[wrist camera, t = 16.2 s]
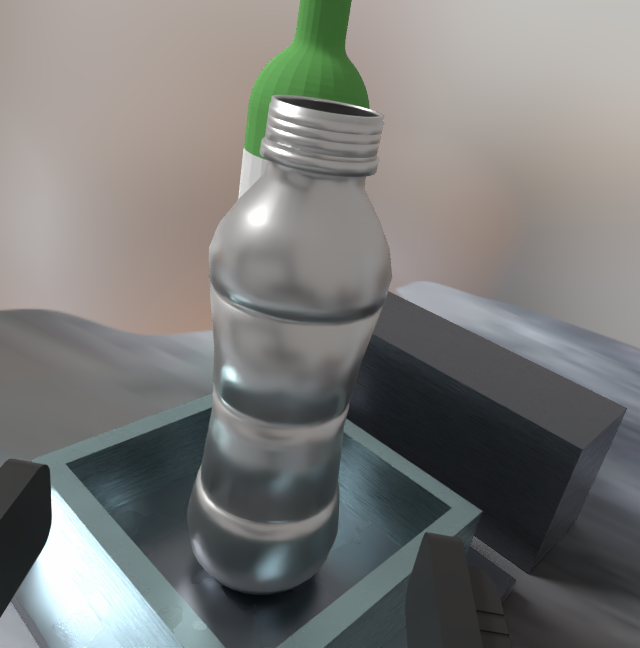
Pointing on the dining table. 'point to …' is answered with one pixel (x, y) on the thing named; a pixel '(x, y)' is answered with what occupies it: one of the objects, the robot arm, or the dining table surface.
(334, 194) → the plastic bottle
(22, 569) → the robot arm
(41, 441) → the dining table surface
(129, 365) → the dining table surface
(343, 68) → the wine bottle
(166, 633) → the teal open bin
